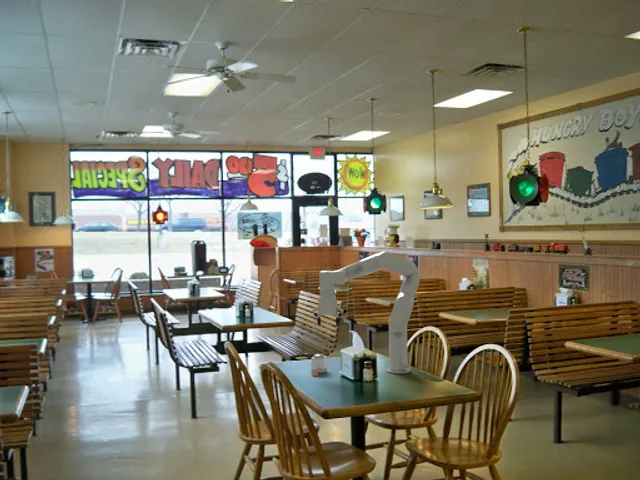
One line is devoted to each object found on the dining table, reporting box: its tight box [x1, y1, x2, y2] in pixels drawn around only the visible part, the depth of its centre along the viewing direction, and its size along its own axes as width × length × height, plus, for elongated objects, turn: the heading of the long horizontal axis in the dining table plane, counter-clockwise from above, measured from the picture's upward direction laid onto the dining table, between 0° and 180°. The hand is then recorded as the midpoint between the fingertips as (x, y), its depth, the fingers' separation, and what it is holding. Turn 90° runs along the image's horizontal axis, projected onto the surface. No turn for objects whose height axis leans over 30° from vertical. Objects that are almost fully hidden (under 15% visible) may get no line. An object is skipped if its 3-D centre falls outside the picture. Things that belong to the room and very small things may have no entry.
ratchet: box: [310, 368, 328, 377], centre depth 330 cm, size 13×8×6 cm, turn 166°
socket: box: [310, 353, 328, 371], centre depth 332 cm, size 7×7×7 cm
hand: (328, 325), depth 337 cm, fingers open, 9 cm apart
